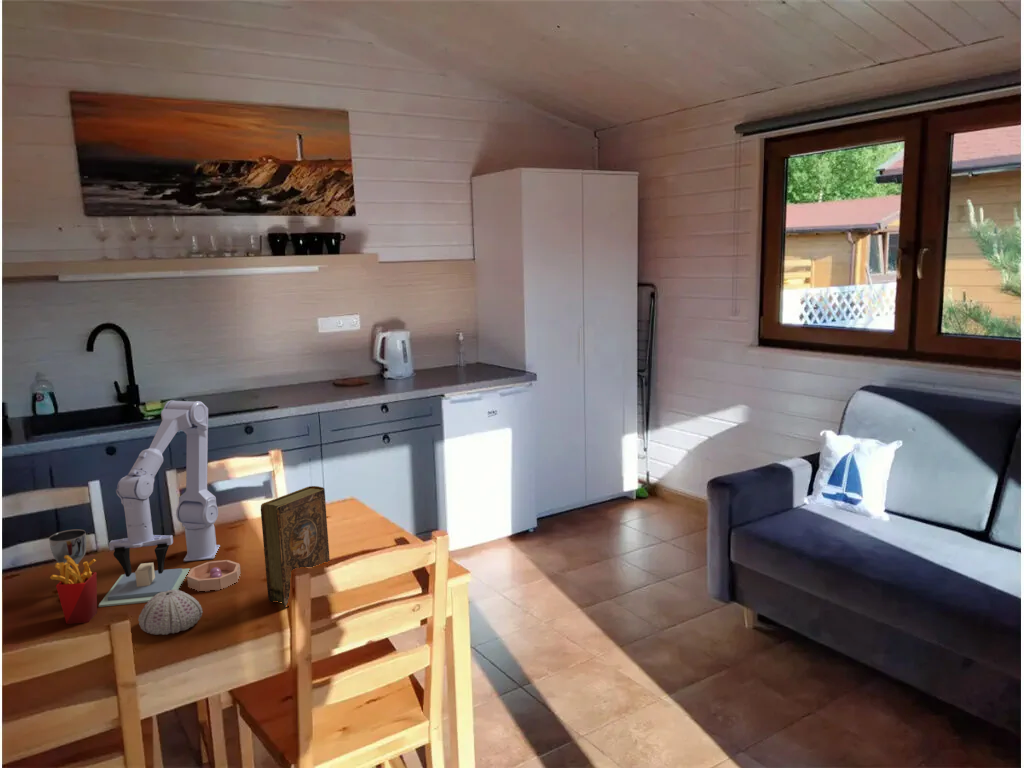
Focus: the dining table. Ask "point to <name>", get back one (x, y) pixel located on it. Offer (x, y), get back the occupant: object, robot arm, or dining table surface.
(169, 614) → the sea urchin shell
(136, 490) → the robot arm
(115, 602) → the mat
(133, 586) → the lid
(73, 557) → the silver goblet
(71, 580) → the french fries
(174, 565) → the dining table surface
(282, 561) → the book
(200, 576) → the bowl
